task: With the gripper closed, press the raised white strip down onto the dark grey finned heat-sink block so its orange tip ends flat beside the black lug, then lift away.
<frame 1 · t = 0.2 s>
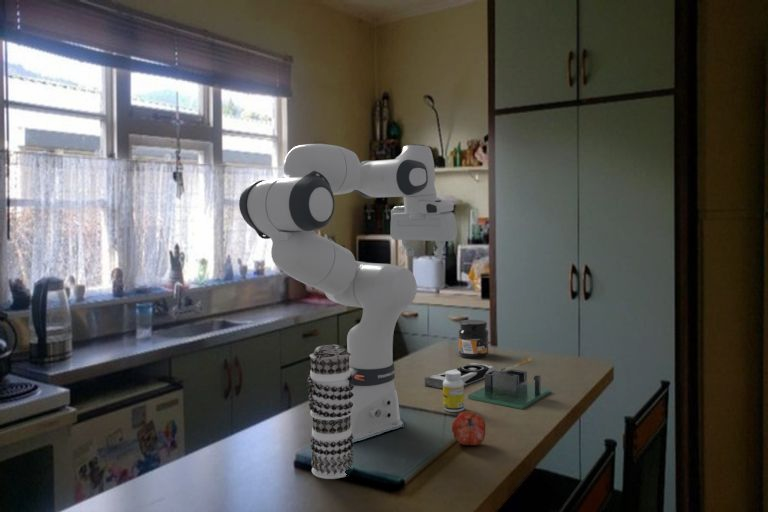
hand: (424, 256, 169), 39 cm above the kitchen island, tool pointing down, fingers open, 8 cm apart
pomegranate: (468, 444, 137), on the kitchen island
decorative candle: (332, 470, 125), on the kitchen island
graphics card: (463, 382, 188), on the kitchen island
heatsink: (509, 395, 172), on the kitchen island
supplement container: (473, 356, 219), on the kitchen island
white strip: (509, 368, 171), point 7 cm above the kitchen island, hinge at -30.0°
supplement bottle: (453, 410, 161), on the kitchen island
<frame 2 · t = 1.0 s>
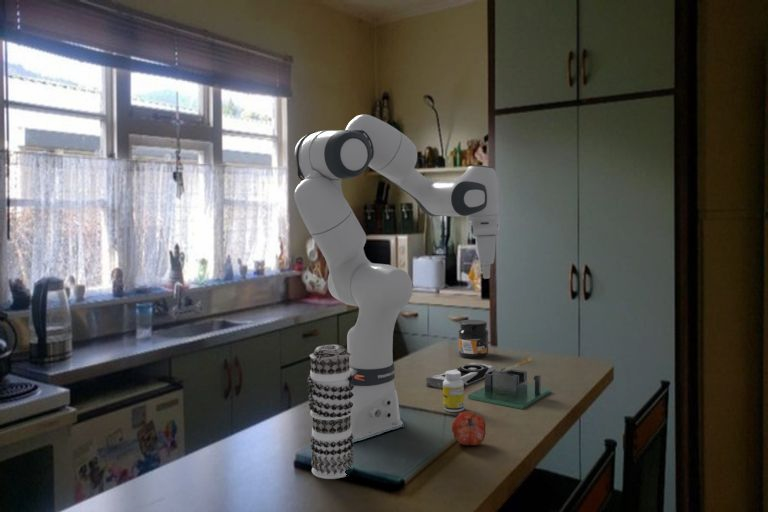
hand: (485, 274, 171), 33 cm above the kitchen island, tool pointing down, fingers open, 8 cm apart
nothing on the kitchen island moved.
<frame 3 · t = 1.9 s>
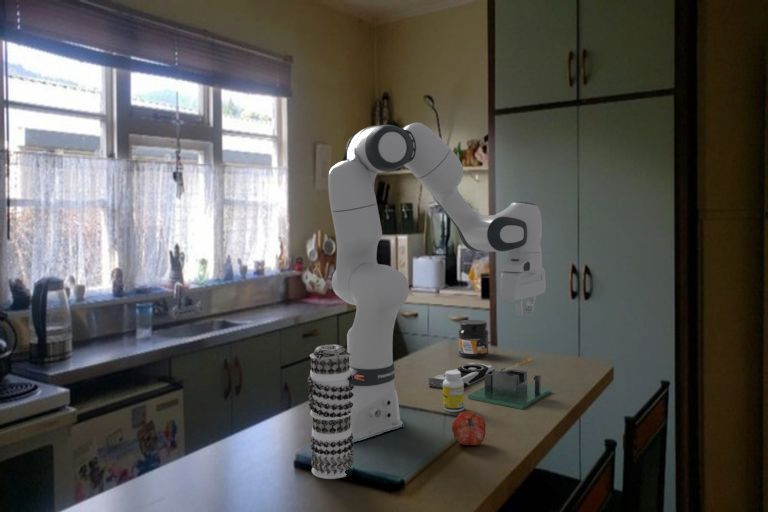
hand: (524, 313, 167), 23 cm above the kitchen island, tool pointing down, fingers open, 4 cm apart
nothing on the kitchen island moved.
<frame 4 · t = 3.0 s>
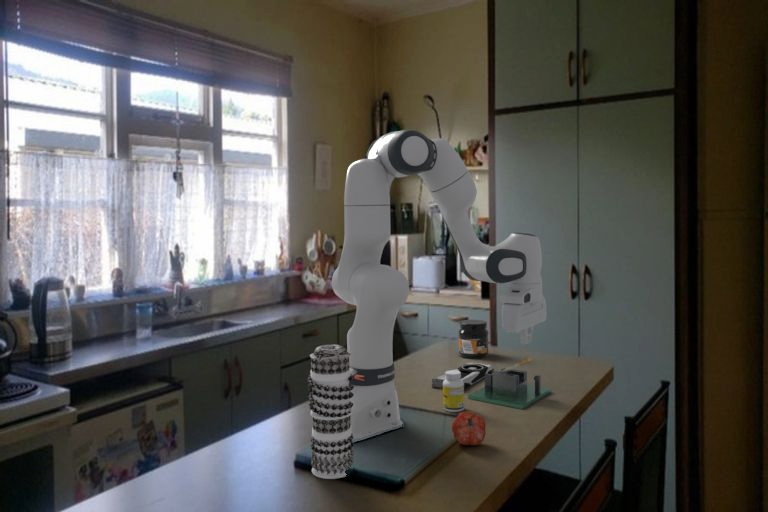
hand: (526, 343, 168), 15 cm above the kitchen island, tool pointing down, fingers closed
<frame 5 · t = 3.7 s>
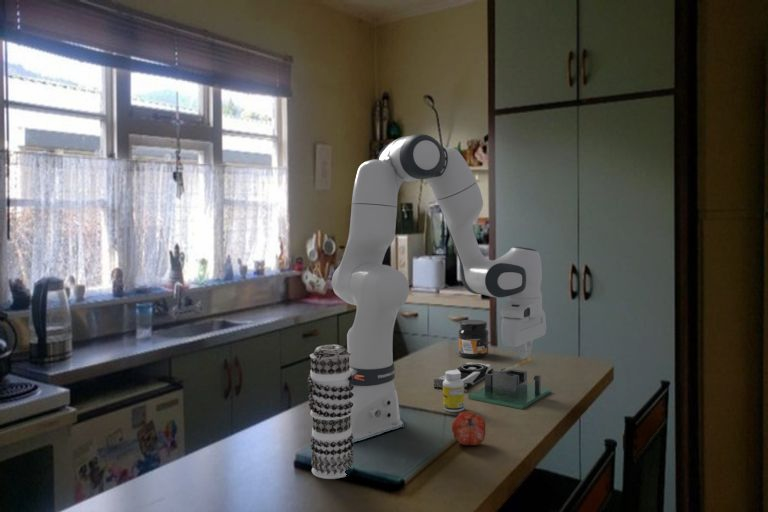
hand: (525, 357, 168), 11 cm above the kitchen island, tool pointing down, fingers closed, pressing on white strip
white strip: (509, 368, 171), point 7 cm above the kitchen island, hinge at -30.0°, touching gripper
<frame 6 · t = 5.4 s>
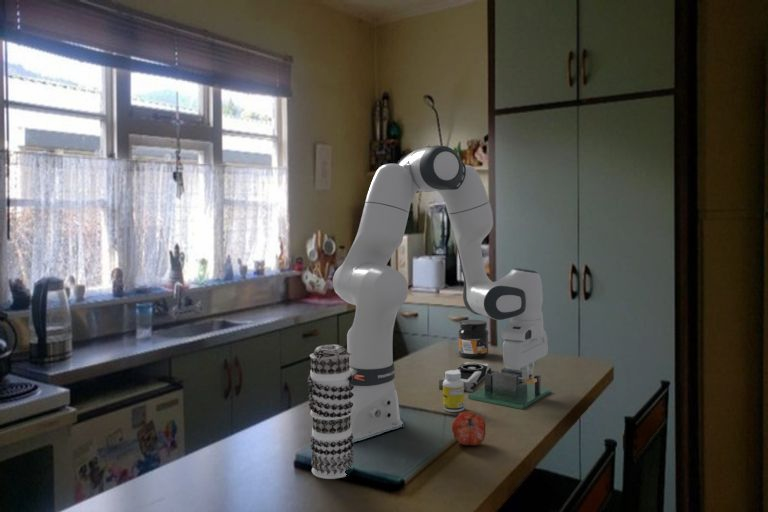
hand: (527, 378, 169), 5 cm above the kitchen island, tool pointing down, fingers closed, pressing on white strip
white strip: (512, 378, 171), point 5 cm above the kitchen island, hinge at -3.8°, touching gripper
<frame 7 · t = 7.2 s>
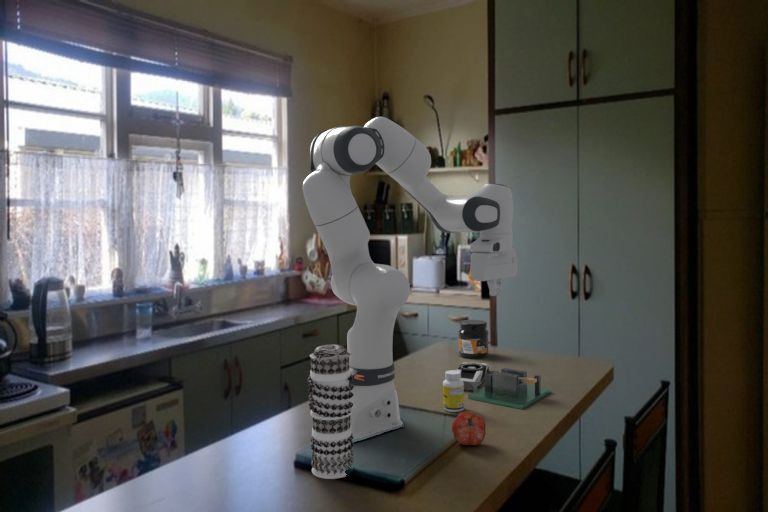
hand: (494, 295, 168), 28 cm above the kitchen island, tool pointing down, fingers closed
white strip: (512, 378, 171), point 5 cm above the kitchen island, hinge at -3.8°
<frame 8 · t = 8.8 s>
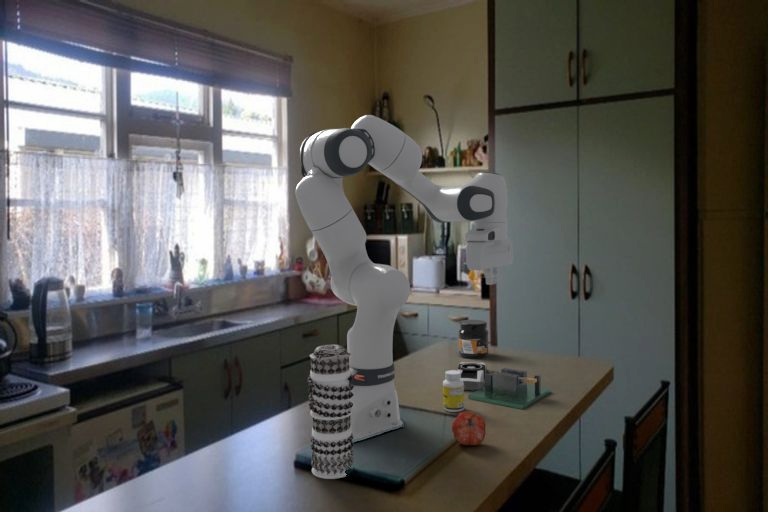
hand: (491, 284, 168), 31 cm above the kitchen island, tool pointing down, fingers closed
at the end: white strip at -4° (first picture: -30°) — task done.
